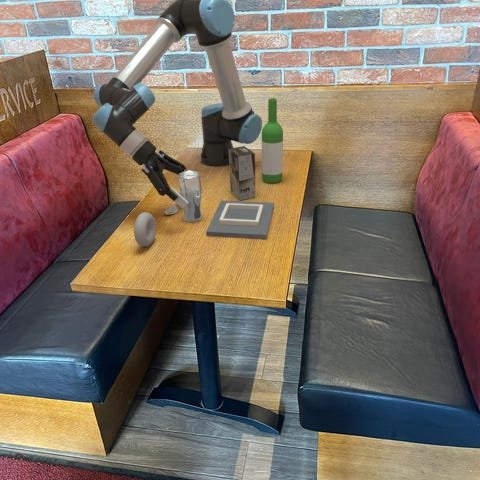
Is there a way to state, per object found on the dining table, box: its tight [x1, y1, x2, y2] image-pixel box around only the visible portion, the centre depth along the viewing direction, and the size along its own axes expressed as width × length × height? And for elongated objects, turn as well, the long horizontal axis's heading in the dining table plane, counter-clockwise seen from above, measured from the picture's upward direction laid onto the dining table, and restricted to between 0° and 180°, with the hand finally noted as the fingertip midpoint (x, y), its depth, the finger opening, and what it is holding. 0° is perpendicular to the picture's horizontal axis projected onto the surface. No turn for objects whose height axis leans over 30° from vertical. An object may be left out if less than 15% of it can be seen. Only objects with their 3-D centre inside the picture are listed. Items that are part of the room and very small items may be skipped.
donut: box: [133, 211, 157, 248], centre depth 129 cm, size 10×4×10 cm, turn 167°
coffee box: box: [228, 145, 256, 201], centre depth 157 cm, size 9×6×16 cm
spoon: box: [163, 203, 179, 215], centre depth 155 cm, size 4×21×2 cm, turn 163°
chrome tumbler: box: [177, 170, 203, 223], centre depth 142 cm, size 7×7×15 cm
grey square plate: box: [205, 199, 275, 240], centre depth 142 cm, size 22×18×3 cm
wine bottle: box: [261, 98, 284, 184], centre depth 164 cm, size 8×8×30 cm
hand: (191, 196), depth 141 cm, fingers open, 13 cm apart
